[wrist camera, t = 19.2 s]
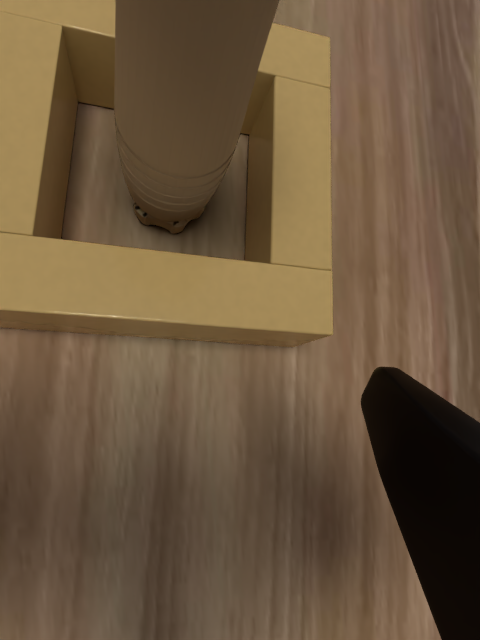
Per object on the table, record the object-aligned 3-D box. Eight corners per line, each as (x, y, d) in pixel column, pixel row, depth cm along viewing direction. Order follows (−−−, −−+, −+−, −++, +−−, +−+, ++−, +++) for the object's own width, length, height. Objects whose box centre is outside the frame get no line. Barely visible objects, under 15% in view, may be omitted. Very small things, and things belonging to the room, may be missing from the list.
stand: (293, 347, 19) (333, 335, 15) (-21, 326, 16) (-73, 304, 12) (295, 101, 21) (330, 36, 17) (25, 42, 18) (-5, -52, 14)
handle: (176, 287, 18) (337, -156, 3) (74, 180, 17) (-212, -783, 3) (250, 223, 19) (582, -281, 5) (157, 122, 19) (217, -717, 5)
